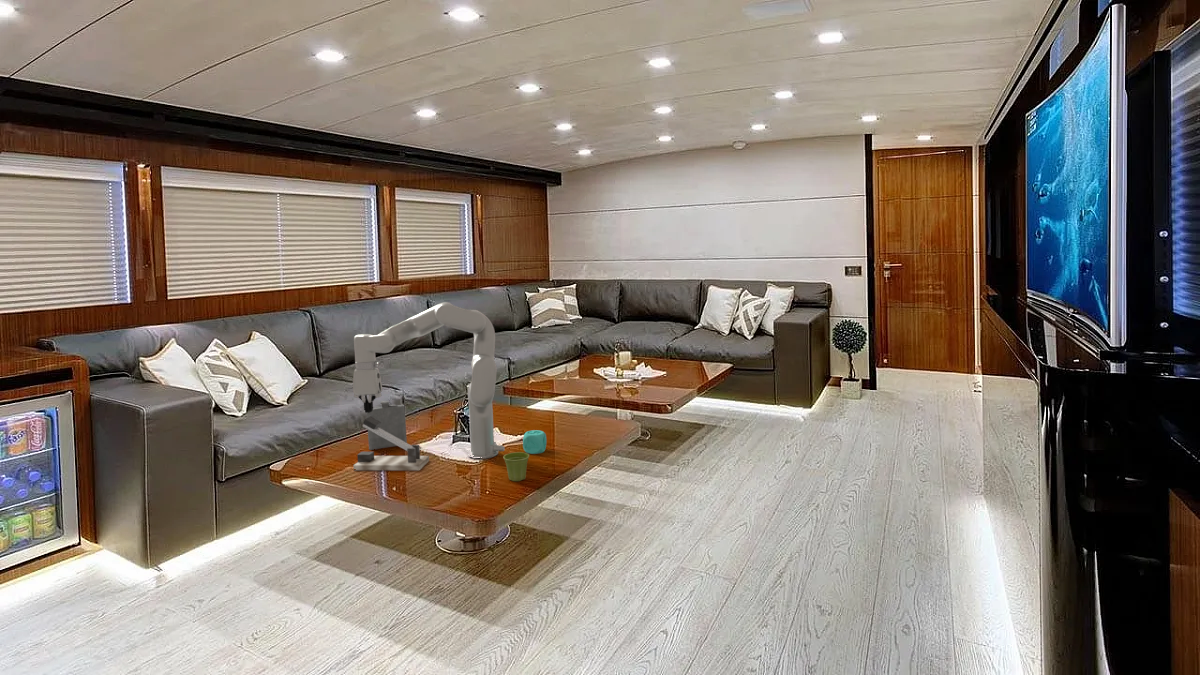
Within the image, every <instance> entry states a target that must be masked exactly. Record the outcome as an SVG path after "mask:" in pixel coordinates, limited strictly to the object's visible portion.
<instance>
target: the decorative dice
mask: <svg viewBox="0 0 1200 675" xmlns="http://www.w3.org/2000/svg"><path fill="white" fill-rule="evenodd" d="M547 441H548V440H547V434H546V432H544V431H543V430H539V429H538V430H537V429H536V430H535V429H533V430H528V431H526V432H525V433H524V434H523V438H522V448H523V451H524V453H527V454H529V455H530V454H531V455H536V454H538V455H539V454H542V453H544V452H545V450H546V449H547V448H546V447H547Z"/></svg>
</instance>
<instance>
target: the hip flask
mask: <svg viewBox="0 0 1200 675" xmlns="http://www.w3.org/2000/svg"><path fill="white" fill-rule="evenodd" d="M380 404H381V406H377V407H373V410H372V412H370V413H368V412H367V413H366V418H368V417H370V416H371V417H373V418H375V419H376V420H378V421H380V422H381V424H380V426H379V428H381V429H382V430H384V431H386V432H388V433H390V434H391V435H393V436H395V437H397V438H399V439H400V440H402V441H404V442H406V443H408V442H407V441H408V440H407V439H408V438H407V422H406V407H405V405H404V404H390V400H383V401H380ZM367 439H368V450H370V451H372V450H374V449H375V450H379V449H384V448H385V449H386V448H392V447H398V446H397V445H395V444H393V443H392V442H390V441H388V440H386V439H384V438H383V437H381V436H379V435H377V434H375V433H374V432H372V431H370V430H368V429H367ZM375 450H374V451H375Z"/></svg>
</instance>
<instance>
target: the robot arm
mask: <svg viewBox="0 0 1200 675" xmlns="http://www.w3.org/2000/svg"><path fill="white" fill-rule="evenodd" d="M444 326H445V327H448V328H453V329H456V330H460V331H463V332H466V333H467V332H468V333H471V334H473V351H472V359H471V363H470V366H471V371H472V372H471V381H470V383H469V385H468V388H467V398H468V399H467V400H468V402H467V403H468V414H469V437H470V440H469V441H470V450H471V453H472V455H474V456H473V457H480V458H481V457H482V458H485V459H490V458H494V457H496V456H498V454H499V452H504V451H505V446H503V445H500V444H499V445H498V444H497V442H496V441H495V436H494V434H495V433H494V414H493V413H494V410H493V400H494V397H495V391H496V383H497V372H498V370H497V369H498V368H497V363H496V361H495V350H496V348H495V346H496V332H495V328H494V325H493V323H492V321H491V319H490V318H488V317H487V315H485V314H484V313H483V312H481V311H479V310H477V309H467V308H463V307H459V306H456V305H454V304H452V303H451V302H449V301H444V302H440V303H438V304H435V305H434V306H431V307H430V308H428V309H426V310H423V311H422V312H420V313H417V314H416V315H413V316H411V317H409V318H408V319H406V320H403V321H401V322H399V323H397V324H394V325H392V326H390V327H389V328H387V329H385V330H383V331H381V332H380V333H378V334H374V335H373V334H370V333H362V334H361V333H360V334H356V335H355V336H354V337H353V346H354V347H353V348H354V363H355V369H354V371H353V376H352V378H353V379H352V391H353V397H354V398H357V399H359V400H360V401H361V402H362V404H363V410H364V412H365V414H367V412H368V413H370V412H372V410H373V408H374V404H373V403H374V401H375V400H376V399H379V398H381V397H382V391H383V384H382V378H381V373H380V370H379V368H377V367H379V366H380V362H377V361H376V360H377V359H376V353H379V354H387V353H390V352H392V351H393V349H394V348H395V347H396V346H398V345H400V344H402V343H404V342H407V341H409V340H411V339H415V338H421V337H423V336H427V335H428V334H430V333H431V332H433V331H435V330H438V329H440V328H442V327H444ZM468 455H469V454H468ZM472 455H470V456H472Z"/></svg>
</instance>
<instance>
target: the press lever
mask: <svg viewBox="0 0 1200 675" xmlns="http://www.w3.org/2000/svg"><path fill="white" fill-rule="evenodd" d="M380 424H381V422H380V421H378V420H376V419H375V418H373V417H371V416H370V417H368V418H367V417H366V418H365V419H364V421H363V423H362V427H363V428H365V429H366V430H367V431H368V430H370V431H372V432H374V433H375V434H377V435H379V436H381V437H383V438H384V439H386V440H388V441H390V442H392V443H393V444H395V445H397V446H396V447H399V448H400V449H403V450H404V451H406V452H407V449H408V448H415V447H413V446H411V445H412V444H409V443H408V442H407V443H406V442H404V441H402V440H400V439H399V438H397V437H395V436H393V435H391V434H390V433H388V432H386V431H384V430H382V429H381V428H379V426H380Z"/></svg>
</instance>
